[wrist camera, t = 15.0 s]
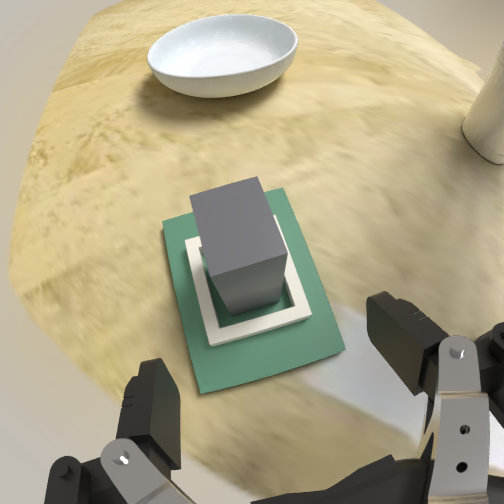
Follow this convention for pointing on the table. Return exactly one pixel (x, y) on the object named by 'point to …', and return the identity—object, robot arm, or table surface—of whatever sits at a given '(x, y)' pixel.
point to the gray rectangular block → (241, 244)
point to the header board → (253, 322)
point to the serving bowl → (223, 55)
